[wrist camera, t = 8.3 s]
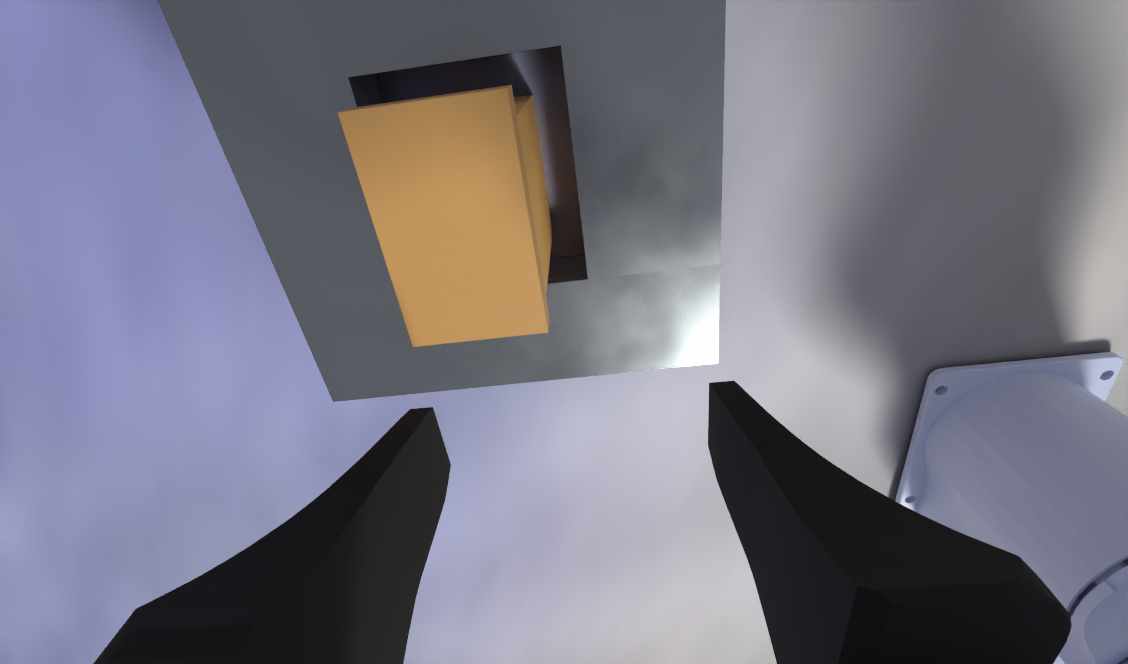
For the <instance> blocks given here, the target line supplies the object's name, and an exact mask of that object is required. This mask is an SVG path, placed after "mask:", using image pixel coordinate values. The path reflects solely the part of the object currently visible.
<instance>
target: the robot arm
mask: <svg viewBox="0 0 1128 664" xmlns="http://www.w3.org/2000/svg"><path fill="white" fill-rule="evenodd" d="M1122 365H1123V358H1122V357H1120V356H1118V355H1117V354H1115V353H1113V352H1104V353H1094V354H1083V355H1073V356H1063V357H1052V358H1042V359H1031V360H1021V361H1010V362H1000V363H990V364H979V365H969V366H958V367H948V368H940V369H936V370H934V371H933V372H932V373H931V374H930V375H929V376H928V378H927V382H926V386H925V390H924V394H923V397H922V401H921V405H920V409H919V413H918V416H917V420H916V424H915V428H914V431H913V435H912V439H911V443H910V447H909V450H908V454H907V458H906V462H905V466H904V469H903V473H902V477H901V481H900V484H899V488H898V492H897V496H896V500H895V501H894V500H892V499H890V498H888V497H886V496H885V495H883V494H881V493H879V492H877V491H876V490H874V489H872V488H870V487H869V486H867V485H865V484H863V483H862V482H860V481H858V480H857V479H855V478H854V477H852V476H851V475H849V474H847V473H846V472H844V471H843V470H841V469H840V468H838V467H837V466H835V465H834V464H832V463H831V462H829V461H828V460H826V459H825V458H823V457H822V456H821V455H819V454H818V453H817V452H815V451H814V450H813V449H811V448H810V447H809V446H807V445H806V444H805V443H803V442H802V441H801V440H800V439H798V438H797V437H796V436H795V435H793V434H792V433H791V432H790V431H789V430H788V429H786V428H785V427H784V426H783V425H782V424H781V423H779V422H778V421H777V420H776V419H775V418H774V417H772V416H771V415H770V414H769V413H768V412H767V411H766V410H765V409H764V408H763V407H761V406H760V405H759V404H758V403H757V402H756V401H755V400H754V399H753V398H752V397H751V396H750V395H749V394H748V393H747V392H746V391H745V390H744V389H742V388H741V387H740V386H739V385H738V384H737V383H736V382H735V381H727V382H715V383H709V428H708V446H709V450H710V454H711V458H712V463H713V467H714V470H715V474H716V478H717V481H718V484H719V487H720V489H721V492H722V495H723V497H724V500H725V503H726V505H727V508H728V510H729V513H730V515H731V518H732V521H733V523H734V526H735V528H736V531H737V533H738V536H739V539H740V541H741V544H742V546H743V549H744V551H745V554H746V556H747V559H748V562H749V565H750V568H751V571H752V574H753V577H754V580H755V584H756V587H757V591H758V594H759V598H760V602H761V605H762V609H763V612H764V616H765V620H766V623H767V627H768V631H769V635H770V639H771V642H772V646H773V650H774V654H775V657H776V661H777V664H1128V417H1127V416H1125V415H1124V414H1122V413H1121V412H1119V411H1118V410H1116V409H1115V408H1113V407H1112V406H1110V405H1109V404H1107V403H1106V402H1105V400H1106V398H1107V396H1108V394H1109V392H1110V390H1111V388H1112V386H1113V383H1114V381H1115V379H1116V377H1117V375H1118V373H1119V371H1120V369H1121V367H1122ZM940 386H941V387H940ZM938 387H940V388H939V389H937V388H938ZM936 389H937V390H936ZM450 466H451V464H450V461H449V458H448V455H447V452H446V448H445V445H444V442H443V439H442V435H441V432H440V429H439V426H438V422H437V419H436V416H435V413H434V410H433V407H430V408H419V409H410V410H409V411H408V412H407V413H406V414H405V415H404V416H403V417H402V418H401V419H400V420H399V421H398V422H397V423H396V424H395V425H394V426H393V427H392V428H391V429H390V430H389V431H388V432H387V433H386V434H385V435H384V436H383V437H382V438H381V439H380V440H379V441H378V442H377V443H376V444H375V445H374V446H373V447H372V448H371V449H370V450H369V451H368V452H367V453H366V454H365V455H364V456H363V457H362V458H361V459H360V460H359V461H358V462H357V463H355V464H354V465H353V466H352V467H351V468H350V469H349V470H348V471H347V472H346V473H344V474H343V475H342V476H341V477H340V478H339V479H338V480H337V481H336V482H335V483H333V484H332V485H331V486H330V487H329V488H328V489H327V490H326V491H324V492H323V493H322V494H321V495H320V496H318V497H317V498H316V499H315V500H313V501H312V502H311V503H310V504H308V505H307V506H306V507H305V508H303V509H302V510H301V511H299V512H298V513H297V514H295V515H294V516H293V517H292V518H290V519H289V520H287V521H286V522H285V523H283V524H282V525H280V526H279V527H277V528H276V529H274V530H273V531H271V532H270V533H269V534H267V535H266V536H264V537H263V538H261V539H260V540H258V541H257V542H255V543H254V544H252V545H251V546H249V547H248V548H246V549H245V550H243V551H241V552H240V553H238V554H237V555H235V556H233V557H232V558H230V559H228V560H227V561H225V562H223V563H222V564H220V565H218V566H217V567H215V568H213V569H211V570H210V571H208V572H206V573H204V574H203V575H201V576H199V577H197V578H195V579H194V580H192V581H190V582H188V583H186V584H184V585H182V586H180V587H178V588H176V589H174V590H173V591H171V592H169V593H167V594H165V595H163V596H161V597H159V598H157V599H155V600H153V601H151V602H149V603H147V604H145V605H143V606H141V607H139V608H137V609H136V610H135V611H134V612H133V613H132V615H131V616H130V617H129V618H128V620H127V621H126V622H125V624H124V625H123V626H122V627H121V629H120V630H119V631H118V633H117V634H116V635H115V636H114V638H113V639H112V640H111V642H110V643H109V644H108V646H107V647H106V648H105V649H104V651H103V652H102V653H101V655H100V656H99V657H98V658H97V660H96V661H95V662H94V664H403V661H404V656H405V650H406V645H407V639H408V634H409V629H410V624H411V619H412V614H413V609H414V604H415V599H416V595H417V591H418V587H419V583H420V580H421V576H422V573H423V570H424V567H425V564H426V560H427V557H428V554H429V551H430V547H431V544H432V541H433V538H434V535H435V531H436V528H437V525H438V522H439V518H440V515H441V512H442V508H443V505H444V501H445V497H446V491H447V486H448V479H449V473H450Z"/></svg>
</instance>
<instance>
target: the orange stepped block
mask: <svg viewBox="0 0 1128 664" xmlns="http://www.w3.org/2000/svg"><path fill="white" fill-rule="evenodd" d="M338 115H339V119H340V122H341V125H342V128H343V131H344V134H345V137H346V140H347V143H348V147H349V150H350V153H351V156H352V159H353V162H354V165H355V168H356V171H357V175H358V178H359V181H360V184H361V187H362V190H363V193H364V196H365V199H366V203H367V206H368V209H369V212H370V215H371V218H372V221H373V224H374V227H375V231H376V234H377V237H378V240H379V243H380V246H381V249H382V252H383V255H384V259H385V262H386V265H387V268H388V271H389V274H390V277H391V280H392V283H393V287H394V290H395V293H396V296H397V299H398V302H399V305H400V308H401V311H402V315H403V318H404V321H405V324H406V327H407V330H408V333H409V336H410V339H411V343H412V346H413V347H418V346H427V345H437V344H446V343H455V342H465V341H474V340H483V339H493V338H502V337H511V336H521V335H530V334H539V333H548V328H549V310H548V304H547V298H546V292H547V282H548V272H549V263H550V253H551V243H552V234H553V229H552V223H551V216H550V209H549V202H548V195H547V188H546V181H545V175H544V168H543V161H542V154H541V147H540V140H539V134H538V127H537V120H536V113H535V106H534V99H533V95H526V96H519V97H514V96H513V90H512V85H506V86H500V87H493V88H486V89H479V90H472V91H465V92H458V93H451V94H444V95H438V96H431V97H424V98H417V99H410V100H403V101H396V102H389V103H382V104H376V105H369V106H362V107H355V108H351V109H347V110H344V111H341V112H338Z"/></svg>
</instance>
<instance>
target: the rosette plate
mask: <svg viewBox="0 0 1128 664" xmlns="http://www.w3.org/2000/svg"><path fill="white" fill-rule="evenodd" d="M158 2H159V4H160V7H161V9H162V11H163V14H164V16H165V18H166V20H167V23H168V25H169V27H170V30H171V32H172V34H173V36H174V39H175V41H176V43H177V46H178V48H179V50H180V52H181V55H182V57H183V59H184V62H185V64H186V66H187V68H188V71H189V73H190V75H191V78H192V80H193V82H194V84H195V87H196V89H197V91H198V94H199V96H200V98H201V100H202V103H203V105H204V107H205V110H206V112H207V114H208V116H209V119H210V121H211V123H212V126H213V128H214V130H215V132H216V135H217V137H218V139H219V142H220V144H221V146H222V149H223V151H224V153H225V155H226V158H227V160H228V162H229V165H230V167H231V169H232V171H233V174H234V176H235V178H236V181H237V183H238V185H239V187H240V190H241V192H242V194H243V197H244V199H245V201H246V203H247V206H248V208H249V210H250V213H251V215H252V217H253V219H254V222H255V224H256V226H257V229H258V231H259V233H260V235H261V238H262V240H263V242H264V245H265V247H266V249H267V251H268V254H269V256H270V258H271V261H272V263H273V265H274V267H275V270H276V272H277V274H278V277H279V279H280V281H281V283H282V286H283V288H284V290H285V293H286V295H287V297H288V299H289V302H290V304H291V306H292V309H293V311H294V313H295V315H296V318H297V320H298V322H299V325H300V327H301V329H302V331H303V334H304V336H305V338H306V341H307V343H308V345H309V347H310V350H311V352H312V354H313V357H314V359H315V361H316V363H317V366H318V368H319V370H320V373H321V375H322V377H323V379H324V382H325V384H326V386H327V389H328V391H329V393H330V395H331V398H332V400H333V402H336V401H346V400H356V399H366V398H376V397H386V396H396V395H406V394H416V393H426V392H436V391H446V390H456V389H466V388H476V387H486V386H496V385H506V384H516V383H526V382H536V381H546V380H556V379H566V378H576V377H586V376H597V375H607V374H617V373H627V372H637V371H647V370H657V369H667V368H677V367H687V366H697V365H707V364H717V363H718V346H719V298H720V250H721V202H722V154H723V106H724V58H725V10H726V0H158ZM555 46H561V52H562V60H563V69H564V77H565V86H566V95H567V103H568V112H569V120H570V129H571V137H572V146H573V155H574V163H575V172H576V180H577V189H578V198H579V206H580V215H581V223H582V232H583V241H584V249H585V255H579V256H570V257H562V258H553V259H550V263H549V272H548V282H547V292H546V298H547V304H548V310H549V328H548V333H539V334H530V335H521V336H511V337H502V338H493V339H483V340H474V341H465V342H455V343H446V344H437V345H427V346H418V347H413V346H412V343H411V339H410V336H409V333H408V330H407V327H406V324H405V321H404V318H403V315H402V311H401V308H400V305H399V302H398V299H397V296H396V293H395V290H394V287H393V283H392V280H391V277H390V274H389V271H388V268H387V265H386V262H385V259H384V255H383V252H382V249H381V246H380V243H379V240H378V237H377V234H376V231H375V227H374V224H373V221H372V218H371V215H370V212H369V209H368V206H367V203H366V199H365V196H364V193H363V190H362V187H361V184H360V181H359V178H358V175H357V171H356V168H355V165H354V162H353V159H352V156H351V153H350V150H349V147H348V143H347V140H346V137H345V134H344V131H343V128H342V125H341V122H340V119H339V115H338V112H341V111H344V110H347V109H351V108H355V107H362V106H369V105H376V104H382V103H384V101H383V98H382V94H381V90H380V87H379V83H378V80H377V76H376V73H381V72H387V71H394V70H401V69H407V68H414V67H421V66H427V65H434V64H441V63H447V62H454V61H461V60H468V59H474V58H481V57H488V56H494V55H501V54H508V53H514V52H521V51H528V50H534V49H541V48H548V47H555Z"/></svg>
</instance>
